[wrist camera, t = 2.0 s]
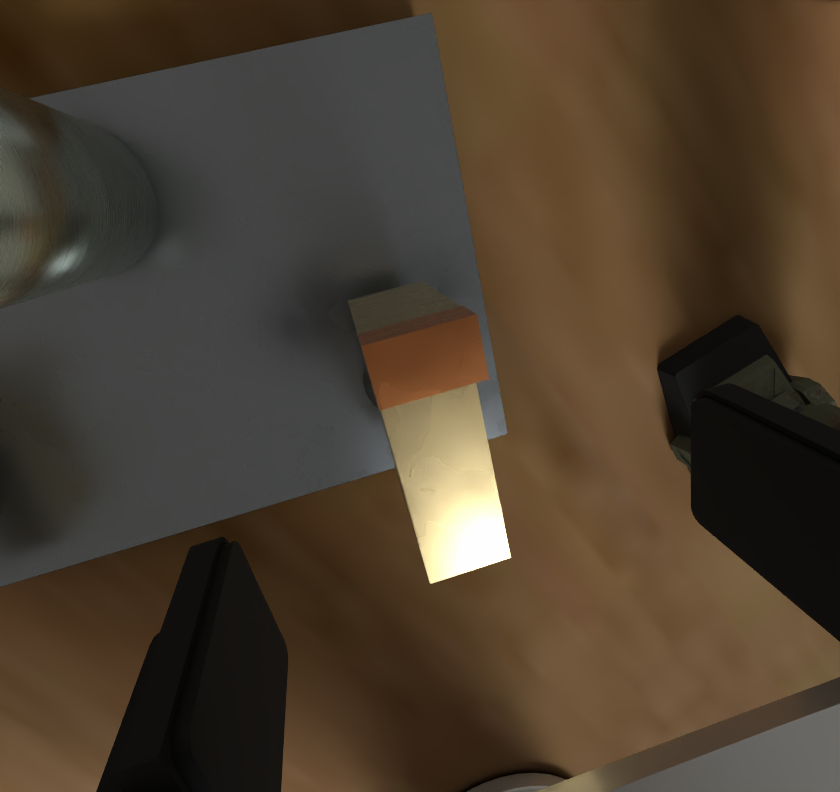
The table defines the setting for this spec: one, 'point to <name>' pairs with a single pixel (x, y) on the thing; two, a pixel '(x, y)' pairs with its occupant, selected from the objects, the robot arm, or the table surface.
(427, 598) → the table surface
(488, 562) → the knob
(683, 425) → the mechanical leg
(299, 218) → the level plate
